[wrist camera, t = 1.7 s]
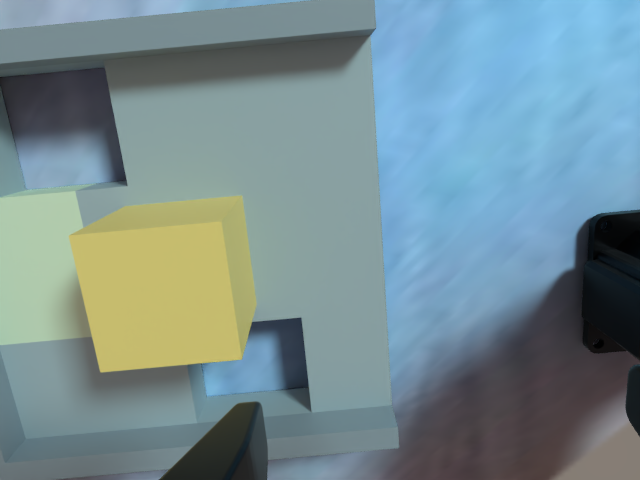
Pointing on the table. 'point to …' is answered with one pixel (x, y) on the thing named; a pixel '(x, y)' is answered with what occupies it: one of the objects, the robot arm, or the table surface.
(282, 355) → the table surface
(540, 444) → the table surface
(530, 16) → the table surface
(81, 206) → the tray
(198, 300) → the block
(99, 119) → the table surface
